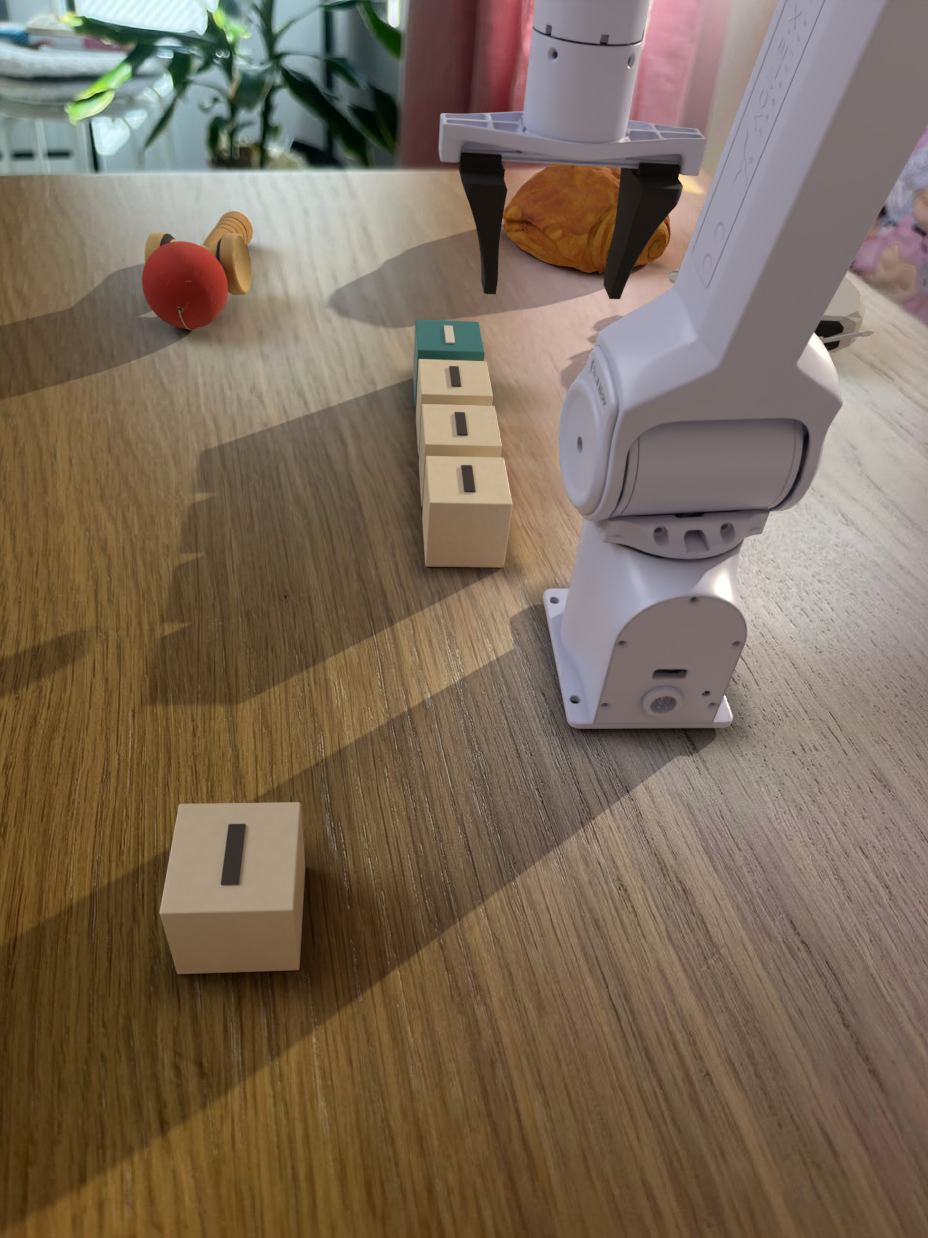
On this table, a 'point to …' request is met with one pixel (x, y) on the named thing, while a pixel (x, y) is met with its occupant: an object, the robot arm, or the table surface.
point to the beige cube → (465, 511)
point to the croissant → (573, 217)
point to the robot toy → (836, 317)
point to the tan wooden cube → (457, 433)
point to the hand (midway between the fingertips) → (550, 289)
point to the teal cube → (446, 343)
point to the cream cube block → (451, 385)
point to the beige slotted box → (235, 888)
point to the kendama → (197, 272)
